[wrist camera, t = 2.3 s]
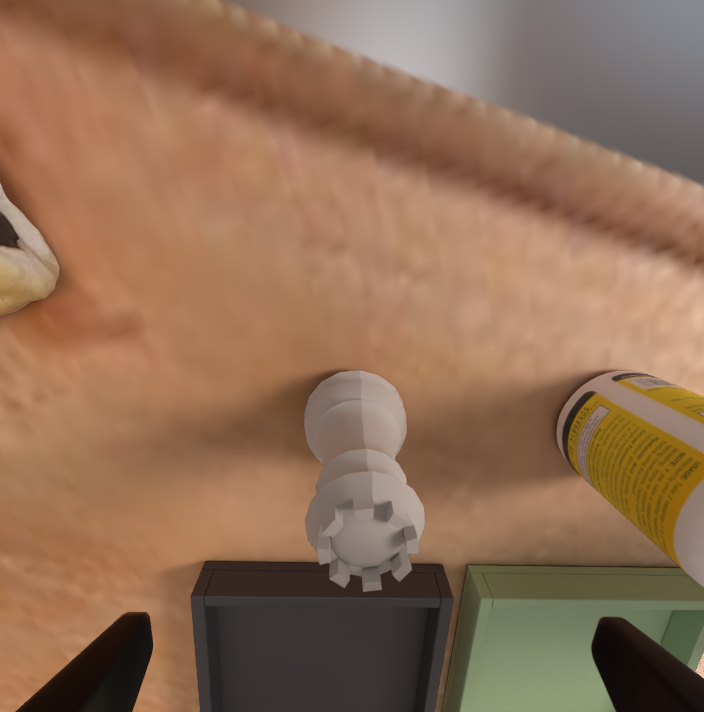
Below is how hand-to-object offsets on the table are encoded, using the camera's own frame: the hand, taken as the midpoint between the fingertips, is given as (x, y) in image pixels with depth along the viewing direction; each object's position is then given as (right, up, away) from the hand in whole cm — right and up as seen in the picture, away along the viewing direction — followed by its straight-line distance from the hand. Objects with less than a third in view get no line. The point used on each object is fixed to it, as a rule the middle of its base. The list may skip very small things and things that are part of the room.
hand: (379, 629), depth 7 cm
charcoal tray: (-2, -12, +13) cm, 18 cm away
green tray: (+11, -12, +14) cm, 22 cm away
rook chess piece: (0, +3, +10) cm, 10 cm away
